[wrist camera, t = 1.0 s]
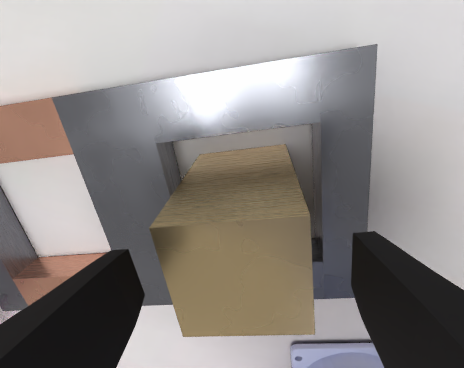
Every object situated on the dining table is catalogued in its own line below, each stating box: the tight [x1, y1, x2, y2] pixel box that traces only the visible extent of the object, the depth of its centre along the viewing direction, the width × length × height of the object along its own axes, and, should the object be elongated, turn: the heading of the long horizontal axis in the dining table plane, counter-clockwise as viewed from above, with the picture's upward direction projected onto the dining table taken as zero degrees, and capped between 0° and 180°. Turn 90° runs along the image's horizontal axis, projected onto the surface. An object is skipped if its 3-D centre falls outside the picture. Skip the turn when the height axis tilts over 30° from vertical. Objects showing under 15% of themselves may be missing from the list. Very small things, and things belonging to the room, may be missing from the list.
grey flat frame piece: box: [0, 44, 377, 311], centre depth 14 cm, size 12×22×2 cm, turn 98°
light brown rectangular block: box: [149, 144, 315, 337], centre depth 11 cm, size 4×4×7 cm
